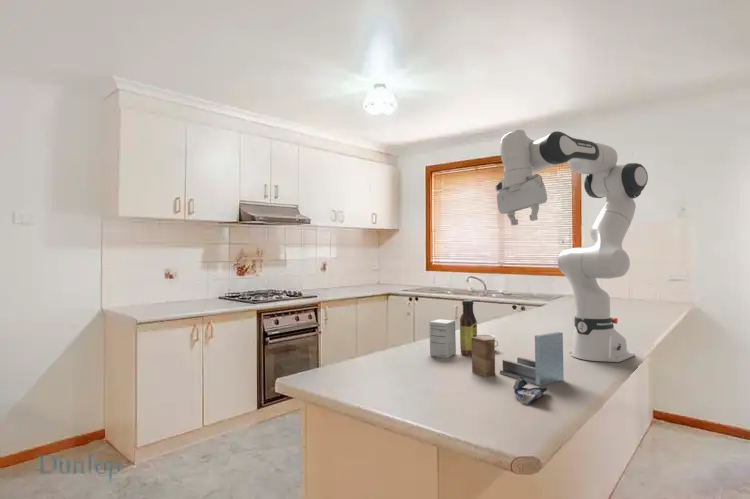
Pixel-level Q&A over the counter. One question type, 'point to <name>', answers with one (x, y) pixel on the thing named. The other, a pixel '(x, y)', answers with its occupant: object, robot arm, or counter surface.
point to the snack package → (527, 390)
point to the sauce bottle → (467, 327)
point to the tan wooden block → (483, 356)
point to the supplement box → (442, 338)
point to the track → (540, 362)
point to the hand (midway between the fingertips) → (524, 222)
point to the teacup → (488, 337)
